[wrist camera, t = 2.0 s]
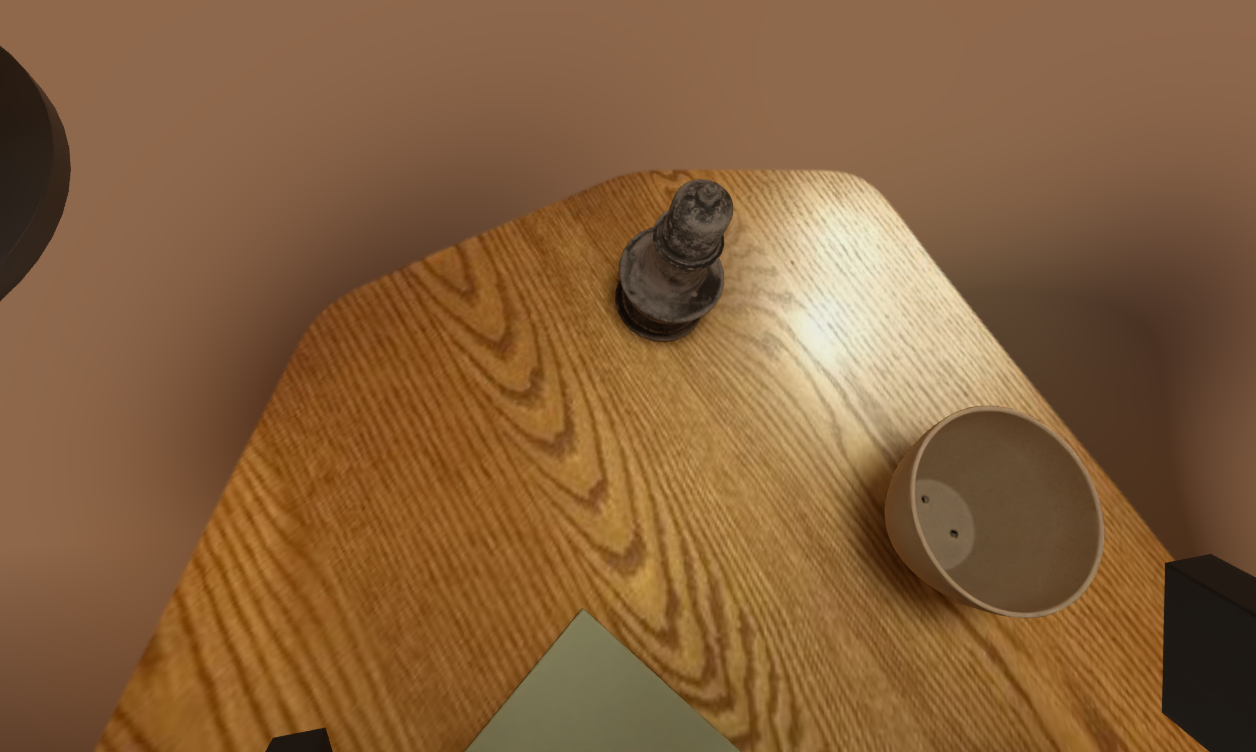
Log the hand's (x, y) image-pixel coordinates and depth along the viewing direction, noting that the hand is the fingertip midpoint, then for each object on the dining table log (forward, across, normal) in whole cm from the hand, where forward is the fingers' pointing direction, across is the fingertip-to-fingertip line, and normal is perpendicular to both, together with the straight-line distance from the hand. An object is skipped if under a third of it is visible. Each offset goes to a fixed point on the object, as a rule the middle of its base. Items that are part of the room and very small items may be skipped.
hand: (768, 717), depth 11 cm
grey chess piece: (+33, +3, +2) cm, 33 cm away
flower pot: (+27, +16, -12) cm, 34 cm away
